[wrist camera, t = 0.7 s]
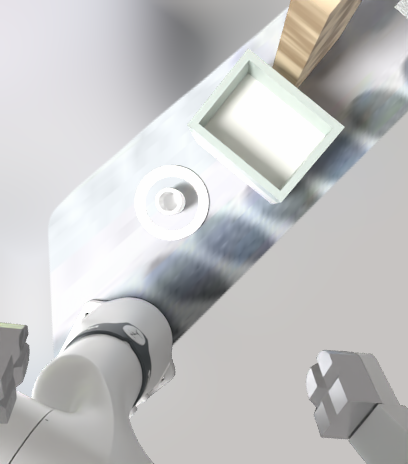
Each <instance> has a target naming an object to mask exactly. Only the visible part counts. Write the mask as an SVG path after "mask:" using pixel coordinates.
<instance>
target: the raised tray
mask: <svg viewBox="0 0 408 464" xmlns="http://www.w3.org/2000/svg"><path fill="white" fill-rule="evenodd" d="M187 125H188V127H189V129H190V131H191V132H192V134H193V136H194V138H195V140H196V142H197V143H198V144H199V145H200V146H202V147H203V148H204V149H205V150H207V151H208V152H209V153H210V154H211V155H213V156H214V157H215V158H216V159H217V160H219V161H220V162H221V163H222V164H223V165H225V166H226V167H227V168H228V169H230V170H231V171H232V172H233V173H234V174H236V175H237V176H238V177H239V178H240V179H242V180H243V181H244V182H245V183H246V184H248V185H249V186H250V187H251V188H253V189H254V190H255V191H256V192H257V193H259V194H260V195H261V196H262V197H263V198H265V199H266V200H267V201H268V202H270V203H271V204H275V203H280V202H282V201H283V200H284V198H285V197H286V196H287V195H288V194H289V193H290V191H291V190H292V189H293V188H294V187H295V185H296V184H297V183H298V182H299V181H300V180H301V178H302V177H303V176H304V175H305V174H306V172H307V171H308V170H309V169H310V168H311V167H312V165H313V164H314V163H315V162H316V161H317V159H318V158H319V157H320V156H321V155H322V154H323V152H324V151H325V150H326V149H327V148H328V146H329V145H330V144H331V143H332V142H333V141H334V139H335V138H336V137H337V136H338V135H339V133H340V132H341V131H342V130H343V129H344V126H343V125H342V124H341V123H339V122H338V121H337V120H336V119H334V118H333V117H332V116H331V115H329V114H328V113H327V112H326V111H325V110H323V109H322V108H321V107H320V106H318V105H317V104H316V103H315V102H314V101H312V100H311V99H310V98H309V97H307V96H306V95H305V94H304V93H302V92H301V91H300V90H299V89H298V88H296V87H295V86H294V85H293V84H291V83H290V82H289V81H288V80H286V79H285V78H284V77H283V76H282V75H280V74H279V73H278V72H277V71H275V70H274V69H273V68H272V67H270V66H269V65H268V64H267V63H266V62H264V61H263V60H262V59H261V58H259V57H258V56H257V55H256V54H255V53H253V52H252V51H251V50H250V49H247V51H246V52H245V53H244V54H243V56H242V57H241V58H240V59H239V61H238V62H237V63H236V64H235V66H234V67H233V68H232V69H231V71H230V72H229V73H228V74H227V76H226V77H225V78H224V79H223V81H222V82H221V83H220V84H219V86H218V87H217V88H216V89H215V91H214V92H213V93H212V94H211V96H210V97H209V98H208V99H207V101H206V102H205V103H204V104H203V106H202V107H201V108H200V109H199V111H198V112H197V113H196V114H195V116H194V117H193V118H192V119H191V121H190V122H189V123H188V124H187Z"/></svg>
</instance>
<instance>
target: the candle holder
mask: <svg viewBox="0 0 408 464" xmlns="http://www.w3.org/2000/svg"><path fill="white" fill-rule="evenodd" d="M165 177H179V178H182V179H184V180H186V181H187V182H189V183H190V184H191V185H192V186H193V188H194V189H195V191H196V193H197V196H198V202H199V206H198V211H197V214H196V216H195V218H194V219H193V221H192V222H191V223H190V224H189V225H187V226H186V227H184V228H182V229H179V230H165V229H162V228H160V227H158V226H157V225H155V224H154V223H153V222H152V221H151V219H150V218H149V216H148V214H147V212H146V207H145V200H146V195H147V193H148V191H149V189H150V187H151V186H152V185H153V184H154V183H155V182H156V181H158V180H160V179H162V178H165ZM155 203H156V207H157V208H158V210H159V211H160V212H161V213H163V214H166V215H176V214H178V213H180V212H181V211H182V210H183V209H184V206H185V197H184V195H183V194H182V193H181V192H180V191H179V190H176V189H174V188H164V189H162V190H161V191H159V193H158V194H157V196H156V200H155ZM208 206H209V199H208V193H207V190H206V187H205V185H204V184H203V182H202V180H201V179H200V178H199V177H198V176H197V175H196V174H195V173H194V172H192V171H191V170H189V169H187V168H184V167H181V166H176V165H167V166H162V167H159V168H156V169H154V170H153V171H151V172H150V173H148V174H147V175H146V176H145V177H144V178H143V180H142V181H141V183H140V184H139V186H138V189H137V191H136V195H135V209H136V213H137V216H138V219H139V221H140V222H141V224H142V225H143V226H144V228H145V229H146V230H147V231H149V232H150V233H151V234H153V235H154V236H156V237H158V238H160V239H166V240H171V241H172V240H178V239H182V238H185V237H187V236H189V235H191V234H192V233H194V232H195V231H196V230H197V229H198V228H199V227H200V226H201V225H202V223H203V222H204V220H205V218H206V215H207V212H208Z"/></svg>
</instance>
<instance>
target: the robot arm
mask: <svg viewBox="0 0 408 464" xmlns="http://www.w3.org/2000/svg"><path fill="white" fill-rule="evenodd" d="M87 312H88V314H86V313H87ZM27 336H28V327H27V326H26V325H18V324H10V323H0V464H154V463H153V462H152V461H151V459H150V458H149V457H148V456H147V454H146V453H145V451H144V450H143V448H142V447H141V445H140V444H139V442H138V440H137V438H136V436H135V434H134V431H133V429H132V426H131V423H130V419H129V418H130V417H131V416H132V415H133V414H134V413H135V412H136V411H137V406H138V405H140V404H141V403H142V402H145V401H146V400H147V399H148V398H149V397H150V396H151V395H152V394H154V393H155V392H156V391H157V390H159V389H160V388H161V387H163V386H164V385H165V384H166V383H168V382H169V381H170V380H172V378H173V377H174V375H175V367H174V363H173V360H172V353H171V352H172V343H173V341H172V332H171V329H170V326H169V324H168V322H167V320H166V318H165V317H164V315H163V314H162V313H161V312H160V311H159V310H158V309H157V308H156V307H155V306H154V305H152V304H150V303H149V302H147V301H144V300H142V299H138V298H132V297H124V298H118V299H115V300H111V301H106V302H105V301H97V300H91V301H88V302H87V303H86V304H85V305H84V307H83V309H82V311H81V313H80V315H79V316H78V318H77V320H76V322H75V324H74V326H73V328H72V330H71V332H70V334H69V336H68V337H67V339H66V341H65V343H64V345H63V347H62V349H61V351H60V353H59V355H58V356H57V357H56V358H54V359H53V360H52V361H51V362H50V363H48V365H46V366H45V367H44V369H43V370H42V371H41V373H40V374H39V376H38V378H37V380H36V382H35V384H34V387H33V391H32V398H31V397H29V396H27V395H25V394H22V393H21V392H18V391H16V387H17V386H18V385H20V384H21V383H22V382H23V379H24V377H25V374H26V370H27V366H28V361H29V345H28V344H27V343H26V339H27ZM317 361H318V363H317V364H315V365H313V366H312V367H311V368H310V369H309V372H308V373H307V379H306V389H307V394H308V397H309V400H310V401H311V402H312V403H313V404H314V405H315V406H316V410H315V413H314V416H315V420H316V423H317V426H318V429H319V432H320V435H321V437H325V438H338V439H349V442H350V444H351V445H352V446H353V447H354V448H355V450H356V451H357V452H358V454H359V455H360V456H361V457H362V459H363V460H364V461H365V462H366V464H408V408H407V407H406V406H403V405H400V404H399V402H398V400H397V398H396V397H395V394H394V392H393V391H392V389H391V387H390V385H389V383H388V381H387V379H386V377H385V375H384V373H383V372H382V369H381V367H380V365H379V363H378V361H377V359H376V358H375V357H374V356H373V355H372V354H365V353H354V352H346V351H331V350H323V351H321V352H320V353H319V354H318V356H317ZM163 376H164V379H162V378H163Z"/></svg>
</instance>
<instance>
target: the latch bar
mask: <svg viewBox="0 0 408 464" xmlns="http://www.w3.org/2000/svg"><path fill="white" fill-rule="evenodd" d="M394 8H396V9H397V10H398V11H399V12H400V13H401V14H403V15H404V16H405V17H406V18H407V19H408V0H400V1H399V2H398V3H397V5H396V6H395V7H394Z"/></svg>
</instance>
